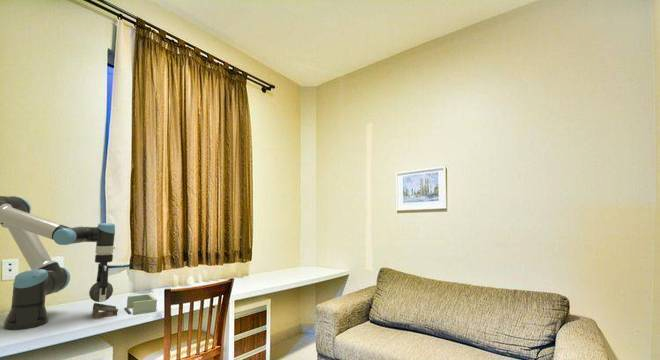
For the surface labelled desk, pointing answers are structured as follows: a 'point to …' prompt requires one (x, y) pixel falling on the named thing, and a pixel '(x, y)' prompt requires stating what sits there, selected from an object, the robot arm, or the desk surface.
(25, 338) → the desk surface
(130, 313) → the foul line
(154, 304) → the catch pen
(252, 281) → the desk surface
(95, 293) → the decorative ball
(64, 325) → the desk surface
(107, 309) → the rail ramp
